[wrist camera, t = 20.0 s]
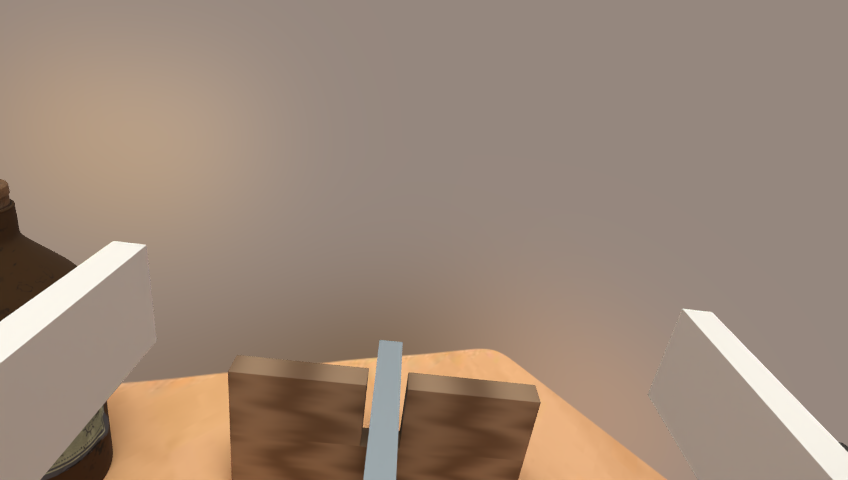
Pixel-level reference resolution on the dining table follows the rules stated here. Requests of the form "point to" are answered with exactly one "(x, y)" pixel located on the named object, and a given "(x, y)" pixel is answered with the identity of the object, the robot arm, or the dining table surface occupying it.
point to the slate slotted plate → (385, 414)
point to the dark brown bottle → (12, 288)
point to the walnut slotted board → (347, 439)
